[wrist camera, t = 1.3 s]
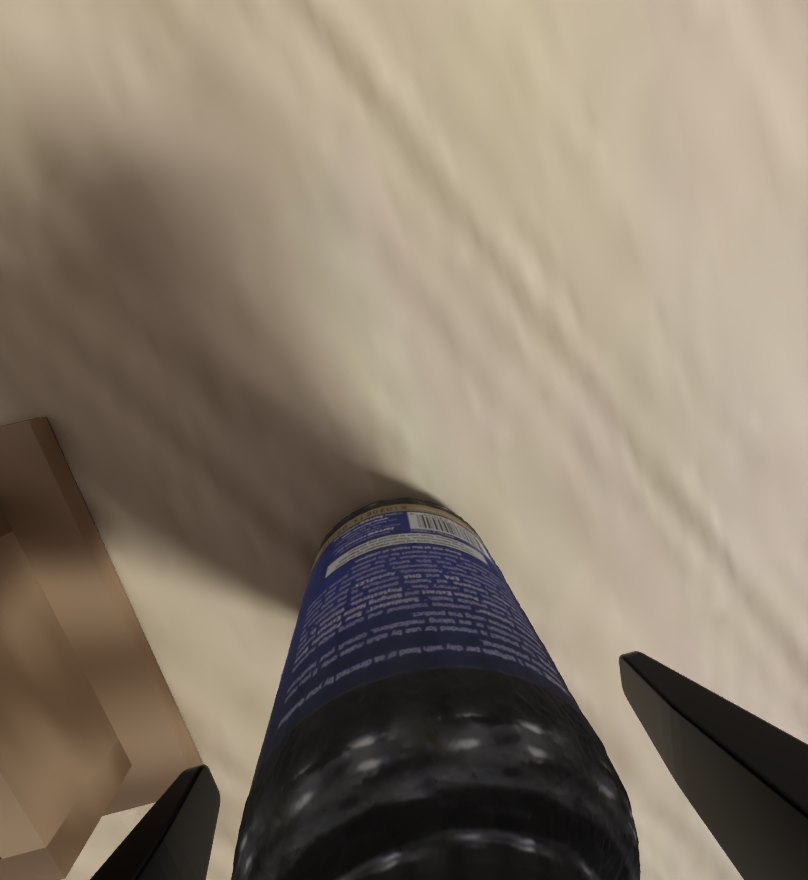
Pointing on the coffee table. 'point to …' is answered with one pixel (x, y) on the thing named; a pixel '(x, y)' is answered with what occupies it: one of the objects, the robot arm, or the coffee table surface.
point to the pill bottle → (426, 725)
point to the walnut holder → (69, 672)
